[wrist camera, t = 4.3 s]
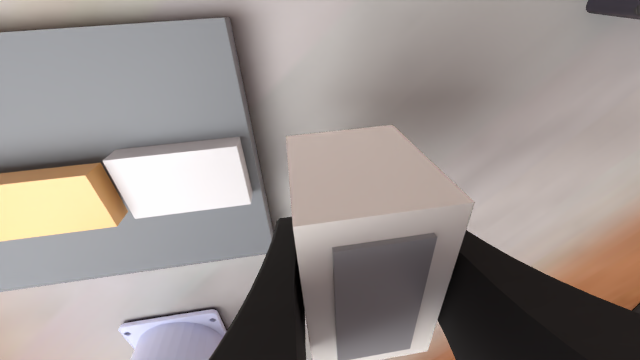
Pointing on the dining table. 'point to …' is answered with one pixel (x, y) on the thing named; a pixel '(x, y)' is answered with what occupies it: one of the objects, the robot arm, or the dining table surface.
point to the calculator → (615, 8)
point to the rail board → (134, 145)
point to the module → (372, 240)
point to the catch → (58, 201)
